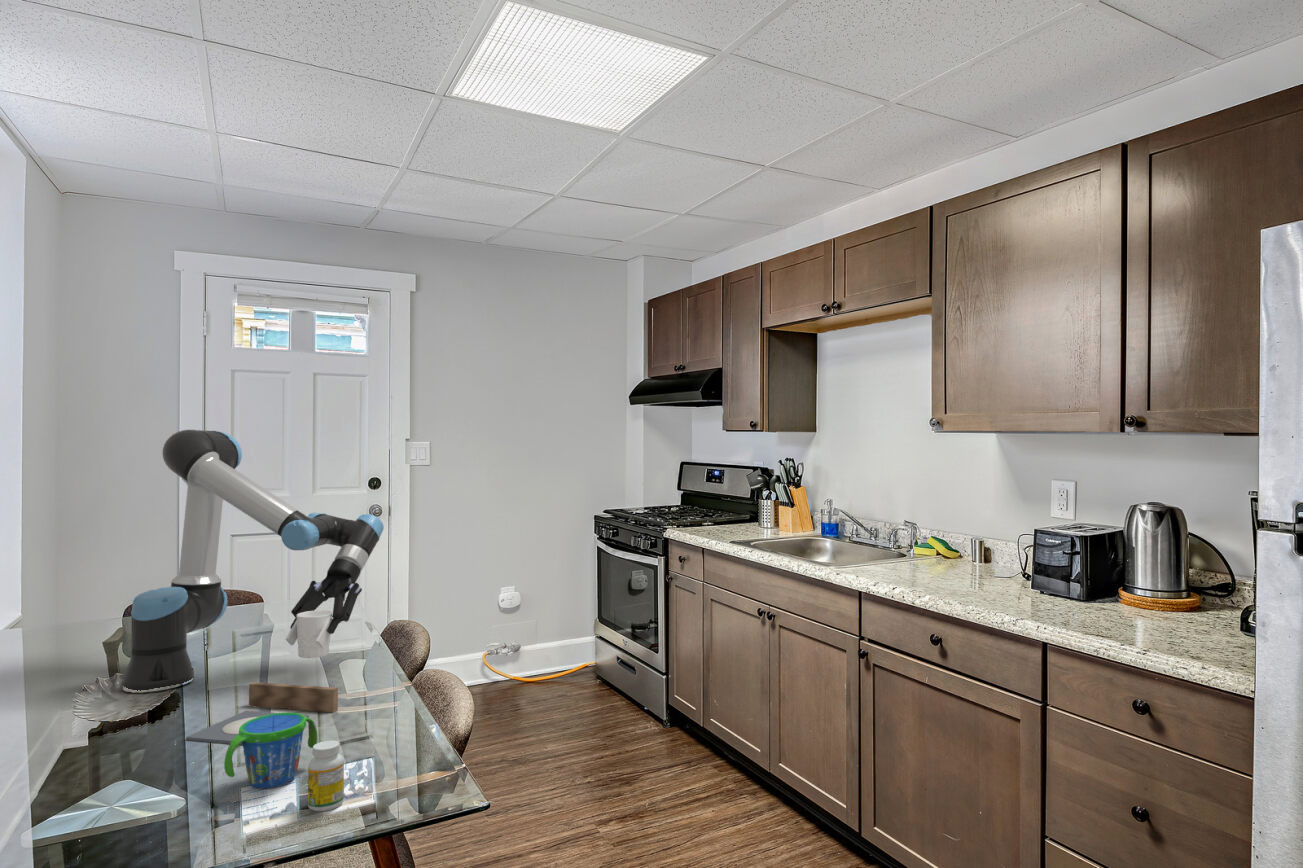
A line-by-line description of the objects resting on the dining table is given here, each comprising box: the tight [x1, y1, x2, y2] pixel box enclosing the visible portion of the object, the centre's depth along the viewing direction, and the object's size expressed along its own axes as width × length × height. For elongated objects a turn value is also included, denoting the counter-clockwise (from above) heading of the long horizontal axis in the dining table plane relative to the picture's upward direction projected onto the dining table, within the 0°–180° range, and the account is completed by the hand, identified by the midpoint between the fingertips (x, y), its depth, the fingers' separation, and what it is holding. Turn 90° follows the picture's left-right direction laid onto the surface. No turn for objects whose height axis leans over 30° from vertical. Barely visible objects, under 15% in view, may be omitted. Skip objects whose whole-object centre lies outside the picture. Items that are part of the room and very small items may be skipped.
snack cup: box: [223, 711, 319, 789], centre depth 130 cm, size 16×10×10 cm
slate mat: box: [185, 710, 310, 746], centre depth 155 cm, size 16×16×1 cm
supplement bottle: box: [307, 740, 345, 812], centre depth 120 cm, size 5×5×10 cm
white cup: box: [296, 609, 333, 659], centre depth 181 cm, size 8×8×10 cm
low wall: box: [248, 681, 339, 713], centre depth 168 cm, size 22×2×5 cm, turn 77°
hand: (304, 643), depth 177 cm, fingers closed on white cup, 8 cm apart
